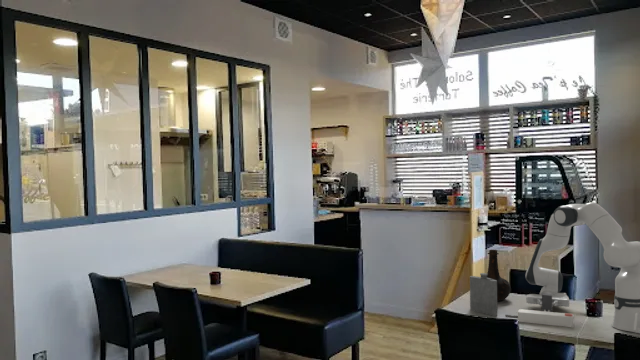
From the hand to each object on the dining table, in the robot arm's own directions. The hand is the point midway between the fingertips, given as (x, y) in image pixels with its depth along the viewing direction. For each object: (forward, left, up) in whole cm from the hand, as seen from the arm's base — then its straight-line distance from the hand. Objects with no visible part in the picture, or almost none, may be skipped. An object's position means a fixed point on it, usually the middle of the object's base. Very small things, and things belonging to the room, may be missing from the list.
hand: (547, 303), depth 262 cm
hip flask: (+30, -6, -6) cm, 31 cm away
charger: (0, -1, -5) cm, 6 cm away
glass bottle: (+17, -33, -6) cm, 37 cm away
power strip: (+9, +12, -6) cm, 16 cm away
